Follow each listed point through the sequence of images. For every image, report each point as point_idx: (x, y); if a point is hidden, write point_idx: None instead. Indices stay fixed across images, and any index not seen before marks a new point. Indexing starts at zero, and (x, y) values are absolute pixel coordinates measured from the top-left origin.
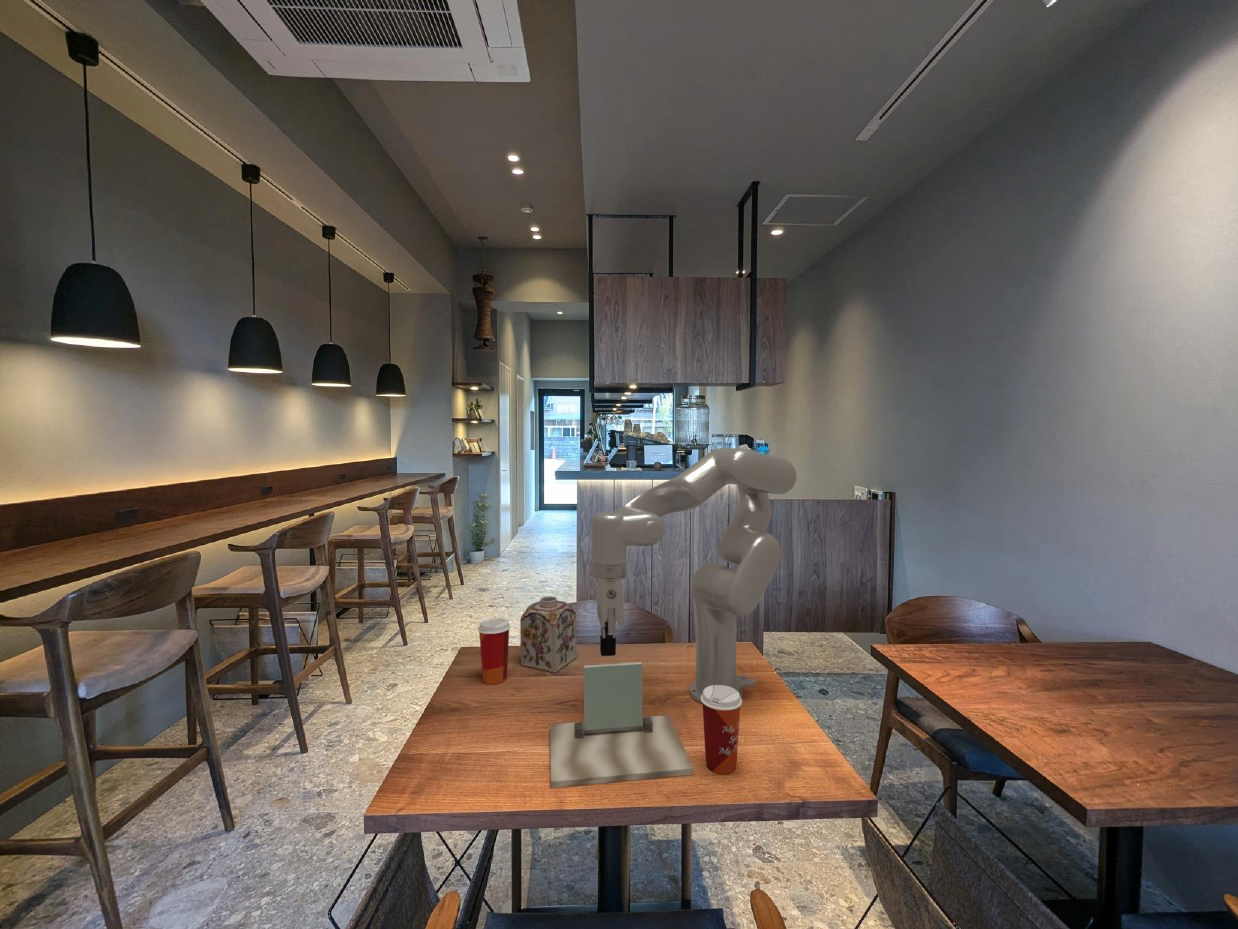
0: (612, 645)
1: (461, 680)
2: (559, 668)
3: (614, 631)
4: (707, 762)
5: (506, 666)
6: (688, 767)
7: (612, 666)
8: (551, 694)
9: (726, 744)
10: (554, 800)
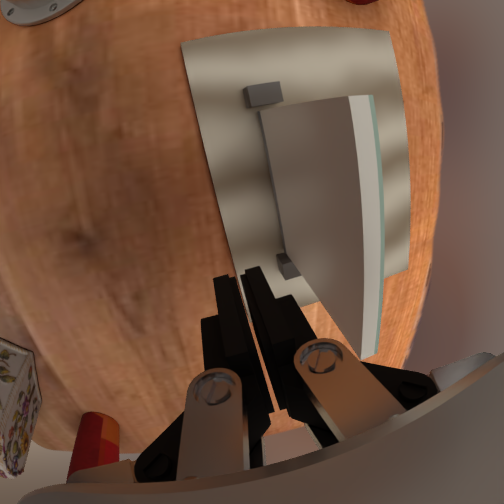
0: (305, 318)
1: (123, 447)
2: (19, 349)
3: (424, 380)
4: (369, 2)
5: (92, 431)
6: (388, 38)
7: (383, 254)
8: (108, 345)
9: None
10: (420, 253)
